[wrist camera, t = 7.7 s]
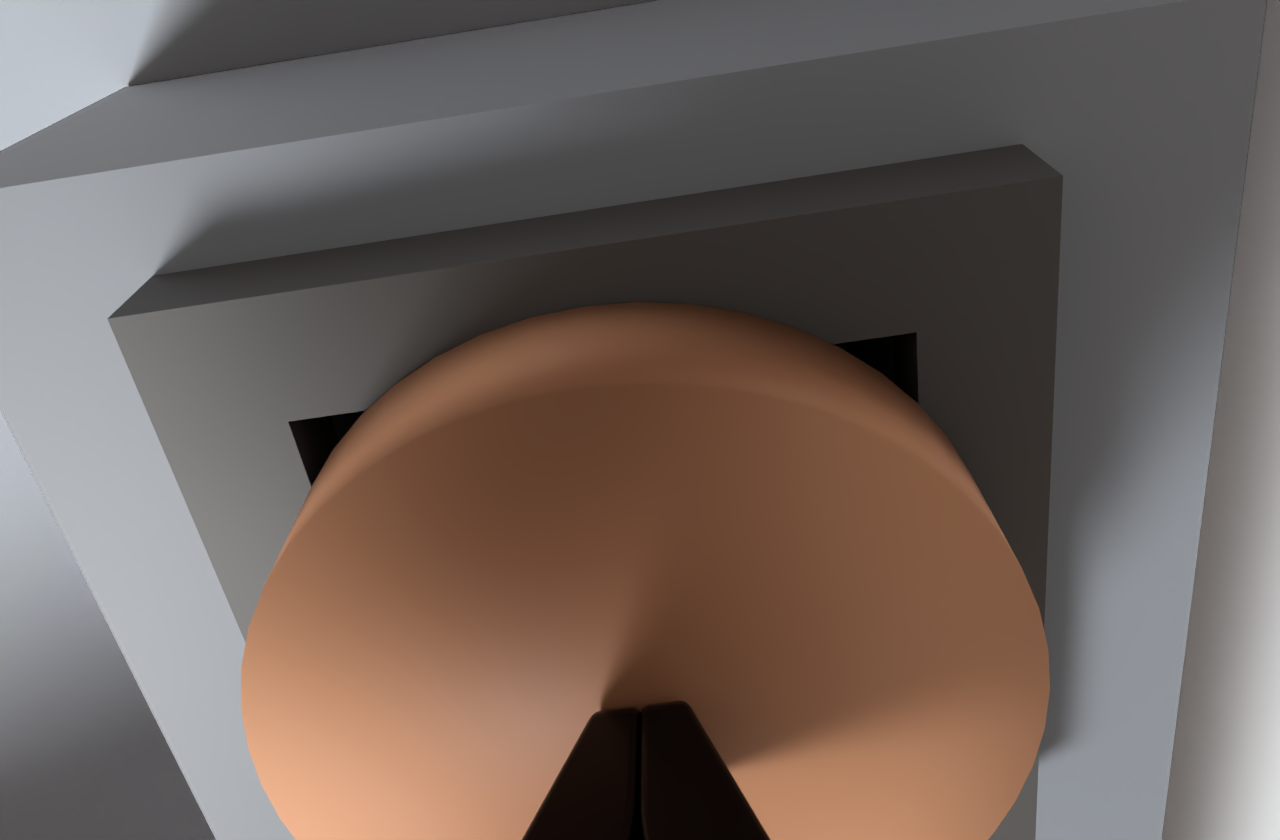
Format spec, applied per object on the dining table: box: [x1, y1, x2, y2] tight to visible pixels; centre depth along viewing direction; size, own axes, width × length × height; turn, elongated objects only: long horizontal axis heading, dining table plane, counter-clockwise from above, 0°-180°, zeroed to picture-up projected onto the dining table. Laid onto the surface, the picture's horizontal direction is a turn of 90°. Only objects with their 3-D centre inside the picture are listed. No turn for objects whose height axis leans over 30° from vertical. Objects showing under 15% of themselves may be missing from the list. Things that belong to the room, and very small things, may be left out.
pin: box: [241, 302, 1050, 840], centre depth 12 cm, size 7×7×6 cm
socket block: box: [0, 0, 1267, 840], centre depth 16 cm, size 12×23×6 cm, turn 9°
